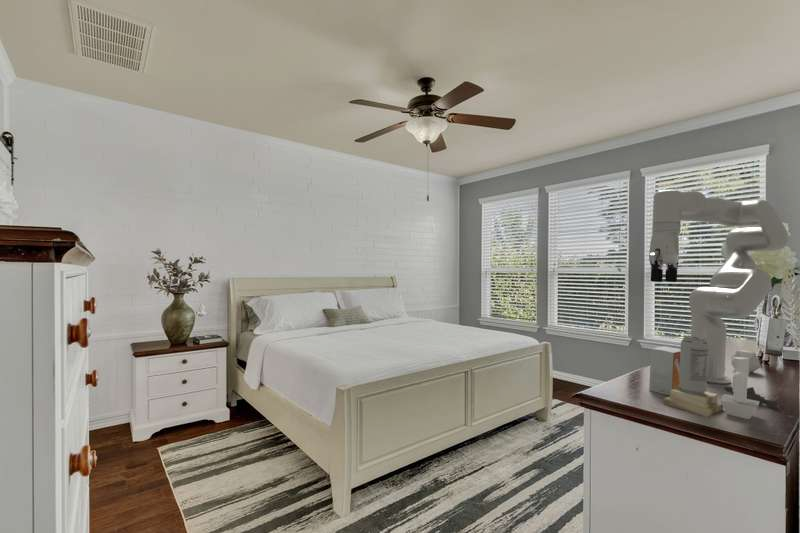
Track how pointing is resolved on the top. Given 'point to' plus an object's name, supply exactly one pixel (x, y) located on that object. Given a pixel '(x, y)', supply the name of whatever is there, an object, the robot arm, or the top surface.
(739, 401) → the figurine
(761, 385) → the top surface
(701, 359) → the energy drink can
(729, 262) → the robot arm
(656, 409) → the top surface
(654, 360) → the small box
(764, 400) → the animal figurine
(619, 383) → the top surface
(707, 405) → the plinth
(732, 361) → the die
